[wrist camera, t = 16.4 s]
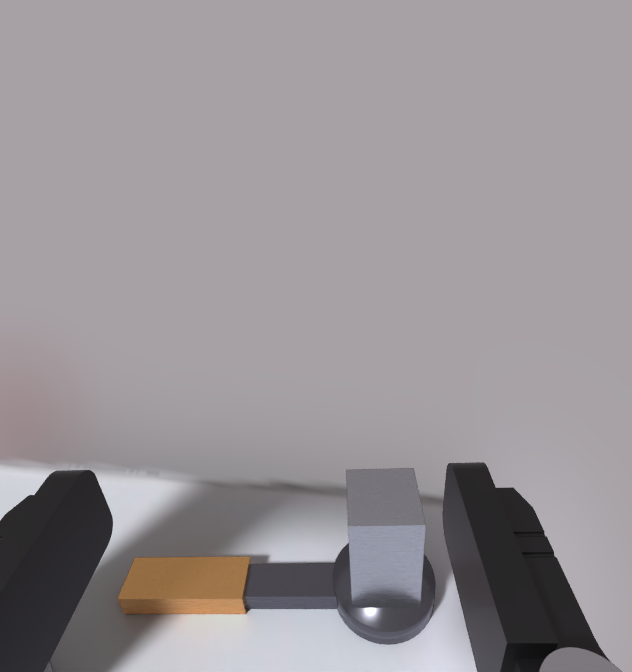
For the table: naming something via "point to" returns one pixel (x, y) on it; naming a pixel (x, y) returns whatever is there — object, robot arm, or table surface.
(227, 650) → the table surface
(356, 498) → the brushed metal block
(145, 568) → the ratchet
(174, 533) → the table surface
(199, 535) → the table surface
